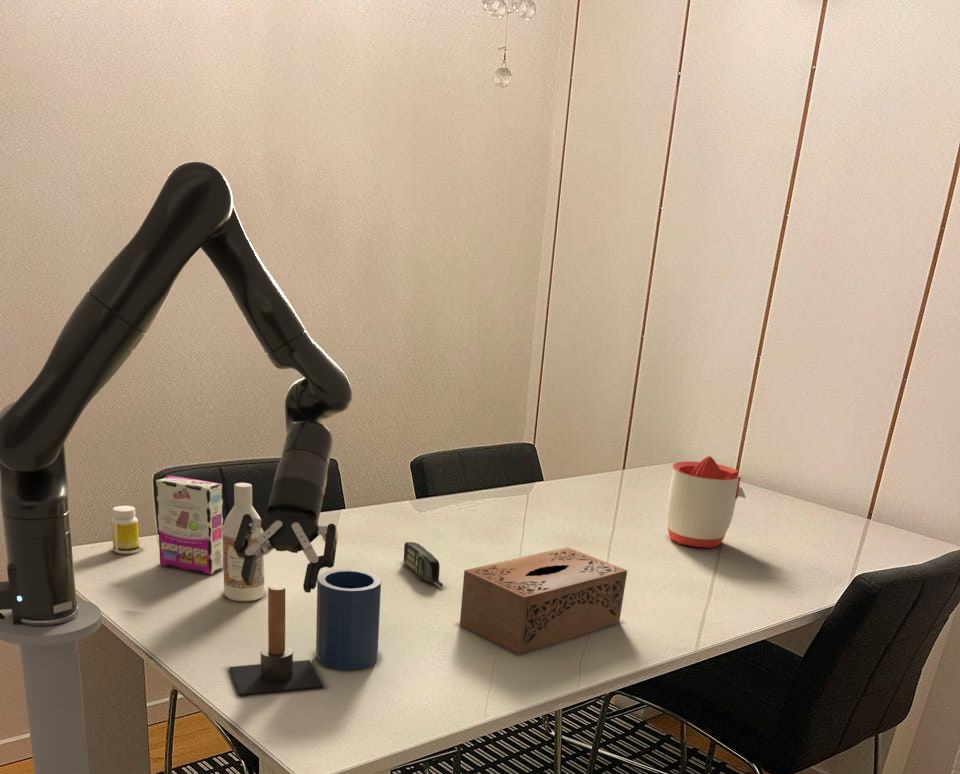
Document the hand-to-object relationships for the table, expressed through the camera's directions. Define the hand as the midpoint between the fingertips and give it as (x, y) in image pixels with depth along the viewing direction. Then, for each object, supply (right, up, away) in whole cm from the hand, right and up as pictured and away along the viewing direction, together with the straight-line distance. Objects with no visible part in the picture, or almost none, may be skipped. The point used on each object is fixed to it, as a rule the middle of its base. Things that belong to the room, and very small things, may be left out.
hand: (277, 586), depth 137 cm
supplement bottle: (-40, +10, +50) cm, 64 cm away
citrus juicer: (+80, +15, +88) cm, 120 cm away
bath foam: (-13, 0, +34) cm, 36 cm away
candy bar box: (-25, +6, +45) cm, 52 cm away
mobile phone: (+18, +5, +51) cm, 54 cm away
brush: (-1, -13, +5) cm, 14 cm away
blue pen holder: (+8, -10, +14) cm, 19 cm away
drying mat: (-1, -13, +5) cm, 14 cm away
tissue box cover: (+40, -5, +33) cm, 52 cm away
